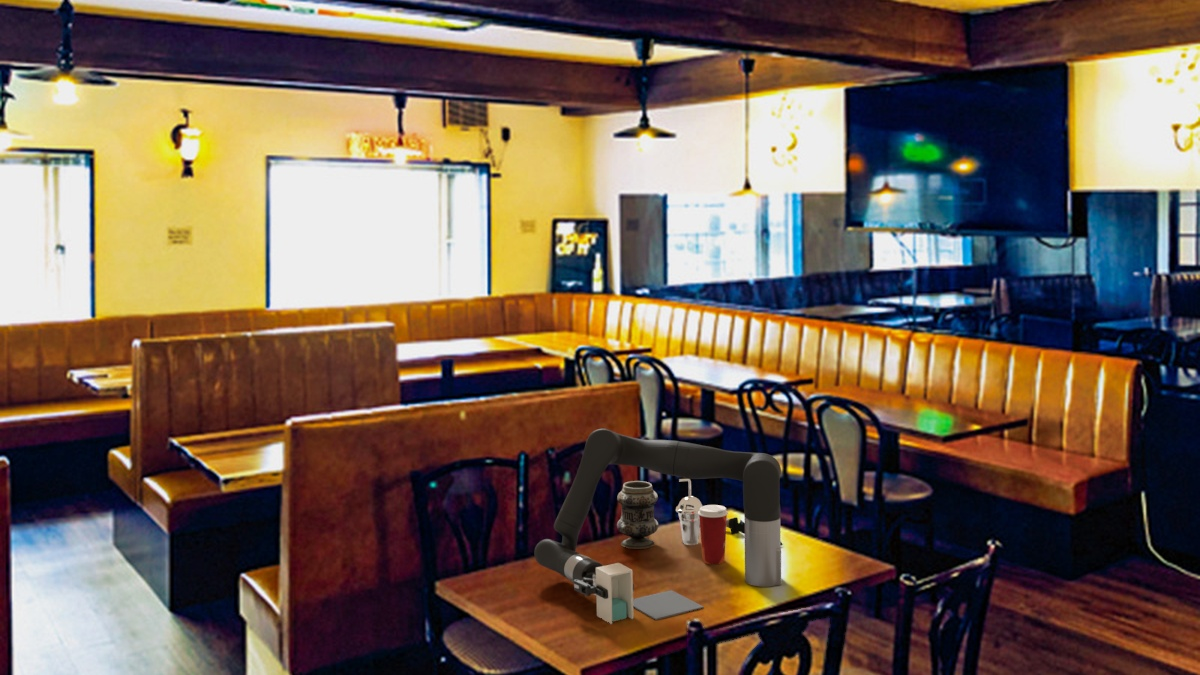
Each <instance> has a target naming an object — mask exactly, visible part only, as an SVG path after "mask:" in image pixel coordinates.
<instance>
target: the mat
mask: <svg viewBox="0 0 1200 675" xmlns="http://www.w3.org/2000/svg"><path fill="white" fill-rule="evenodd" d="M700 608H702V609H704V606H703V605H701V604H699V603H697V602H695V601H693V600H692V599H689V598H687V597H686V596H684V595H682V594H680V593H678V592H676V591H675V590H672V589H670V590H666V591H661V592H657V593H653V594H649V595H648V594H647V595H645V596H640V597H636V598H633V609H635V610H637V611H638V612H640V611H641V612H640V613H642V614H643V615H646V616H648V617H649V618H651V619H652V620H654V619H655V621H657V620H662V619H666V618H670V617H673V616H677V615H682V614H686V613H690V612H693V610H694V611H698V610H701V609H700ZM697 609H698V610H697ZM689 611H690V612H689Z"/></svg>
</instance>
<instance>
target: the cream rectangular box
mask: <svg viewBox="0 0 1200 675" xmlns="http://www.w3.org/2000/svg"><path fill="white" fill-rule="evenodd" d="M633 575H634V572H633V569H632V568H629V567H628V566H626V565H624V564H622V563H620V562H615V563H611V564H608V565H606V564H605V565H603V566H601V567H596V583H597V584H598V586H602V587H604V588H605V589H607V590H608V598H607V599H604V598H602V597H600V596H598V595H595V596H596V598H595V599H596V616H597V618H600V619H601V618H602V619H601V620H603V621H605V622H606V621H607V622H606V623H608V622H609V623H610V624H609V623H608V624H609V625H613V622H612V599H613V598H619V599H621V600H623V601H625V602H626V615H627V617H628V618H630V619H631V620H633V619H634V608H633V599H634V590H633V584H634V581H633V577H634V576H633Z"/></svg>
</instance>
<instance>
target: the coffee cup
mask: <svg viewBox="0 0 1200 675" xmlns="http://www.w3.org/2000/svg"><path fill="white" fill-rule="evenodd" d="M698 514H699V518H700V532H699V533H700V544H701V556H702V557H701V558H702V563H704V562H705V564H706V563H708V564H707V565H721V564H723V563H725V556H726V542H727V541H726V539H727V538H726V537H727V535H726V534H727V527H726V520H727V518H728V515H729V513H728V510H727V507H725V506H724V505H718V504H707V505H702V507H701V508H700V510H699V512H698ZM720 563H721V564H720Z"/></svg>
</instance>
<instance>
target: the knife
mask: <svg viewBox="0 0 1200 675" xmlns="http://www.w3.org/2000/svg"><path fill="white" fill-rule="evenodd" d="M738 519H739V518H738V517H737V516H735V517H732V518H728V517H727V520H726V528H728V529H730V534H731V535H736V534H738V533H742V534H743V535H745V521H743V520H742V519H740V521H739V520H738ZM783 545H784V544H783V543H782V540H780V546H783Z"/></svg>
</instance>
